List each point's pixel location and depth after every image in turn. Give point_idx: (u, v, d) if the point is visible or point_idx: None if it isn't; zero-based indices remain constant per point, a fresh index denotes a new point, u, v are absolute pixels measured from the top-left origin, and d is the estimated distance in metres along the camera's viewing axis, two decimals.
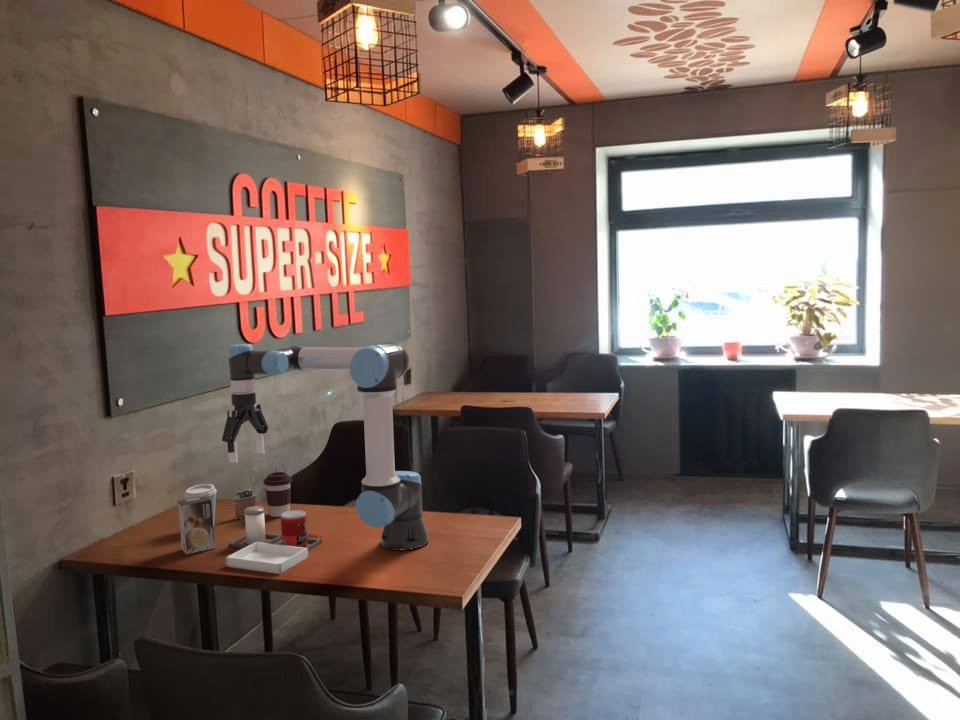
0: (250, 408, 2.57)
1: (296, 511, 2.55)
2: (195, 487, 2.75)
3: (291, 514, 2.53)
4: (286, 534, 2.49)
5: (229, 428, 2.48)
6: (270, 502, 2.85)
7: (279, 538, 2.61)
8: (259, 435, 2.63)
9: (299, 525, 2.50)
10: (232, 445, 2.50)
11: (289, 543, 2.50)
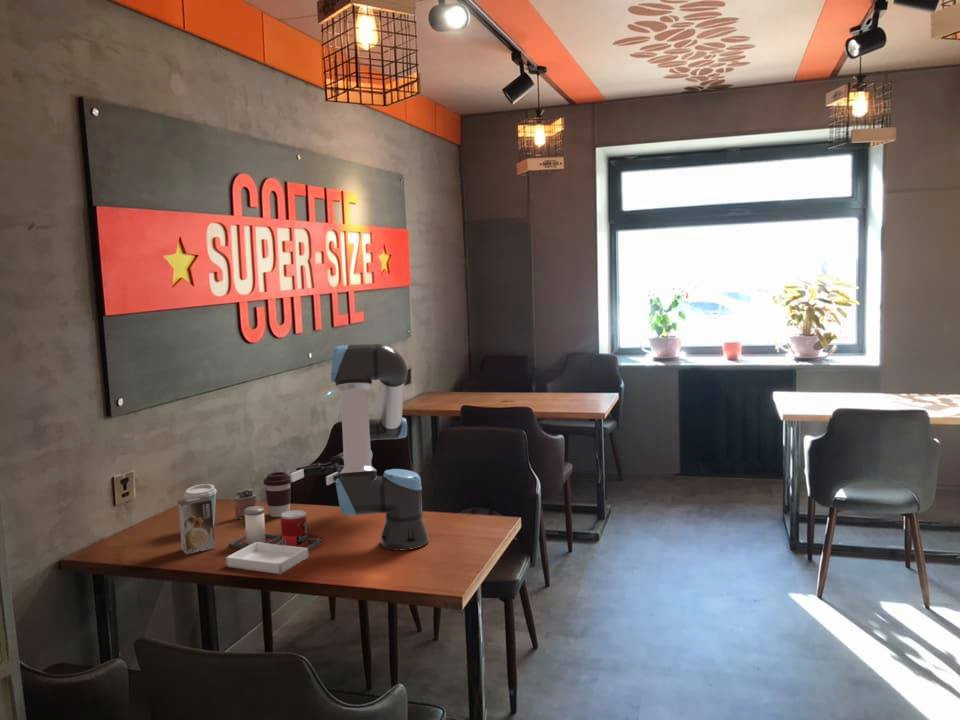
0: (338, 464, 2.74)
1: (296, 511, 2.55)
2: (195, 487, 2.75)
3: (291, 514, 2.53)
4: (286, 534, 2.49)
5: None
6: (270, 502, 2.85)
7: (279, 538, 2.61)
8: None
9: (299, 525, 2.50)
10: None
11: (289, 543, 2.50)
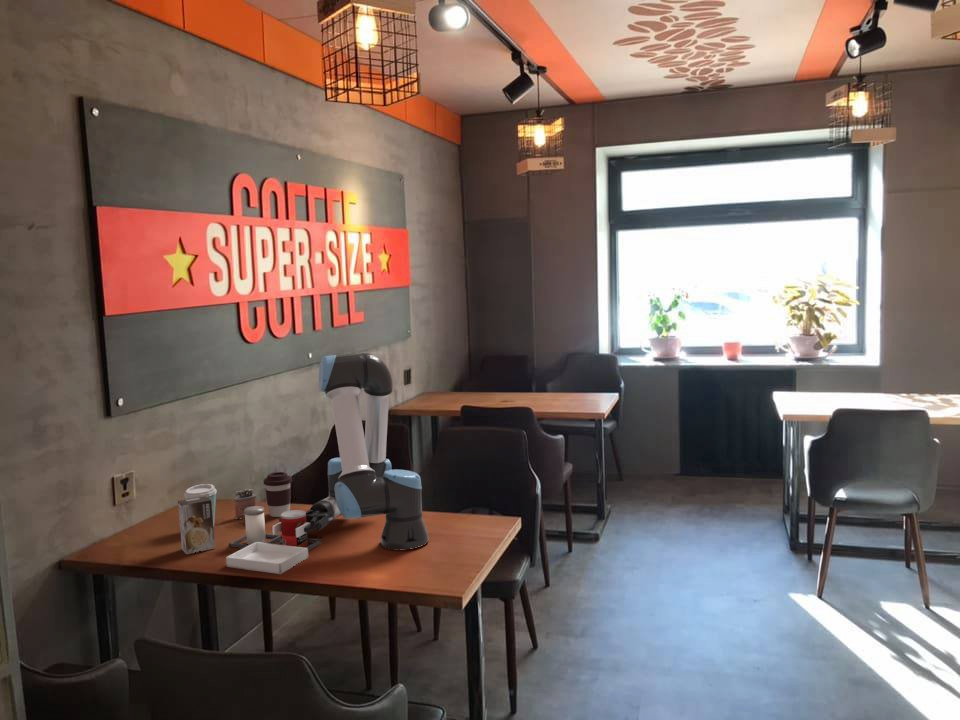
0: (321, 512, 2.64)
1: (296, 511, 2.55)
2: (195, 487, 2.75)
3: (291, 514, 2.53)
4: (286, 534, 2.49)
5: None
6: (270, 502, 2.85)
7: (279, 538, 2.61)
8: None
9: (299, 525, 2.50)
10: None
11: (289, 543, 2.50)
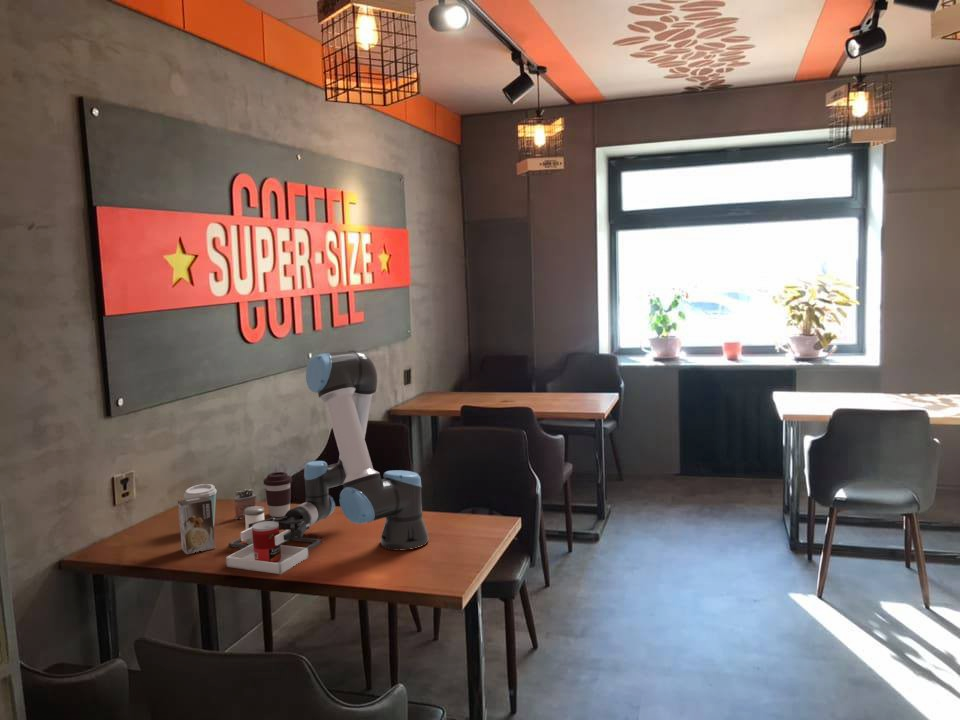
0: (295, 519, 2.51)
1: (269, 522, 2.42)
2: (195, 487, 2.75)
3: (263, 526, 2.40)
4: (258, 547, 2.37)
5: None
6: (270, 502, 2.85)
7: None
8: None
9: (271, 538, 2.37)
10: None
11: (261, 556, 2.37)
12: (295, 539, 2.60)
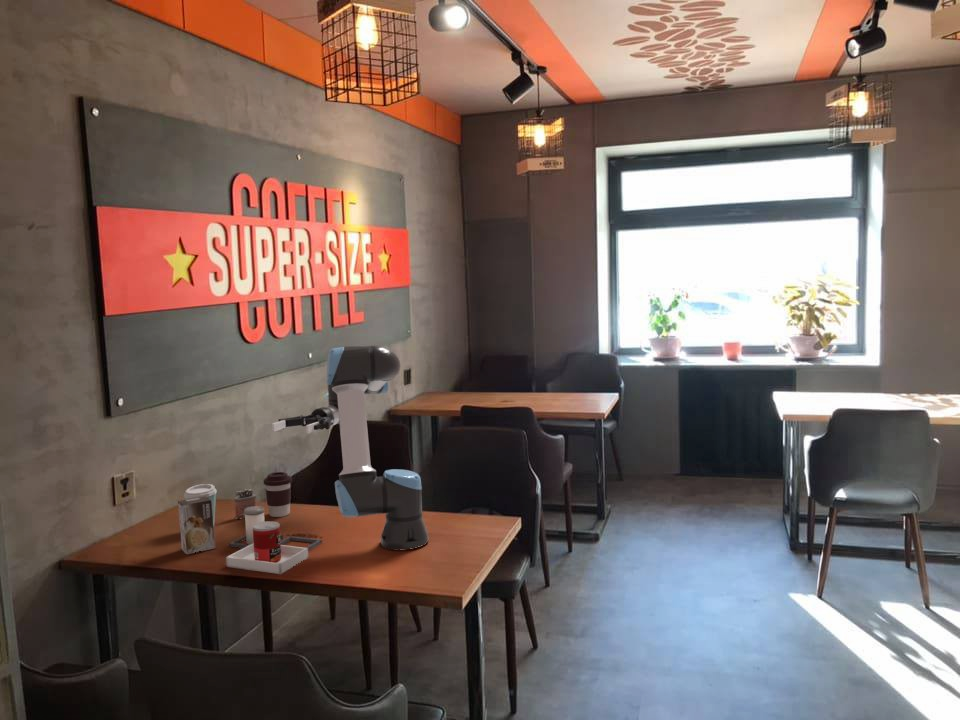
0: (320, 417, 2.81)
1: (269, 522, 2.42)
2: (195, 487, 2.74)
3: (264, 526, 2.40)
4: (258, 547, 2.37)
5: None
6: (270, 502, 2.85)
7: None
8: None
9: (272, 538, 2.37)
10: None
11: (261, 556, 2.37)
12: (295, 539, 2.60)
